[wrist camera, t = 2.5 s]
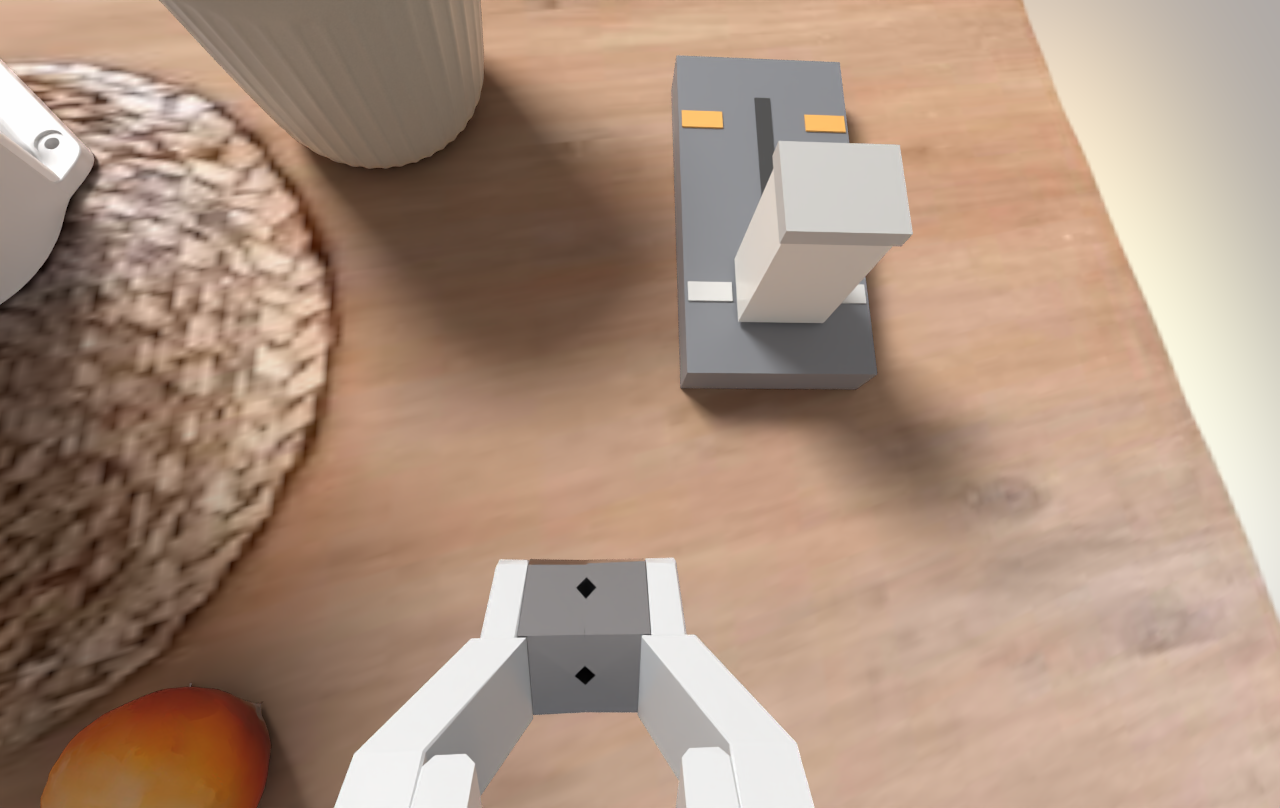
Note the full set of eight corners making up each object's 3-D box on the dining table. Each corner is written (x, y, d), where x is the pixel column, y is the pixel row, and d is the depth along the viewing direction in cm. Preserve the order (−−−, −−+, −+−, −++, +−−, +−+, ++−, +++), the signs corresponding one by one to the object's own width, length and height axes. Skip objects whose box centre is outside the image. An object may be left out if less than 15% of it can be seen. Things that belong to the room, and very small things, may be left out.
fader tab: (826, 326, 35) (912, 233, 25) (734, 325, 35) (786, 230, 25) (820, 257, 36) (899, 144, 27) (730, 256, 36) (778, 140, 26)
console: (856, 389, 38) (878, 373, 35) (680, 388, 37) (687, 372, 34) (823, 96, 43) (840, 60, 40) (671, 90, 43) (676, 54, 40)
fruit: (304, 644, 31) (193, 782, 23) (311, 769, 33) (213, 933, 25) (140, 632, 30) (-28, 768, 23) (158, 759, 32) (11, 922, 25)
